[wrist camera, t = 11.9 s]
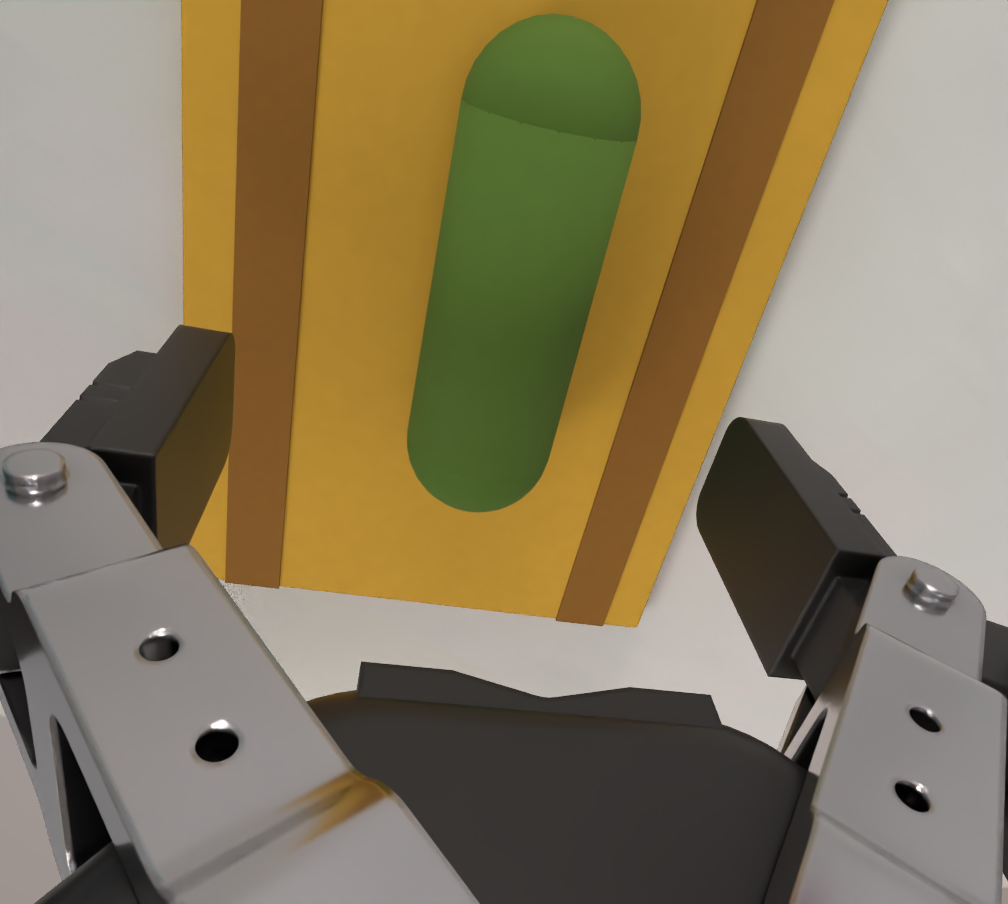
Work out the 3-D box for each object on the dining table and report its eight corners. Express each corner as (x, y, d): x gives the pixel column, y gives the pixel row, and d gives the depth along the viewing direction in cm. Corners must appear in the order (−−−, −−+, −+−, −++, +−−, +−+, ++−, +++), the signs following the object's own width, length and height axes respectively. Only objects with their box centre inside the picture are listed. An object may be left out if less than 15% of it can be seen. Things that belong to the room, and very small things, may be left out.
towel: (190, 563, 23) (183, 577, 23) (187, -465, 12) (174, -487, 12) (633, 615, 26) (637, 630, 25) (962, -220, 15) (983, -228, 14)
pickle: (390, 458, 21) (406, 541, 18) (462, -11, 15) (503, -2, 12) (515, 464, 22) (549, 543, 19) (624, 28, 16) (697, 46, 13)
